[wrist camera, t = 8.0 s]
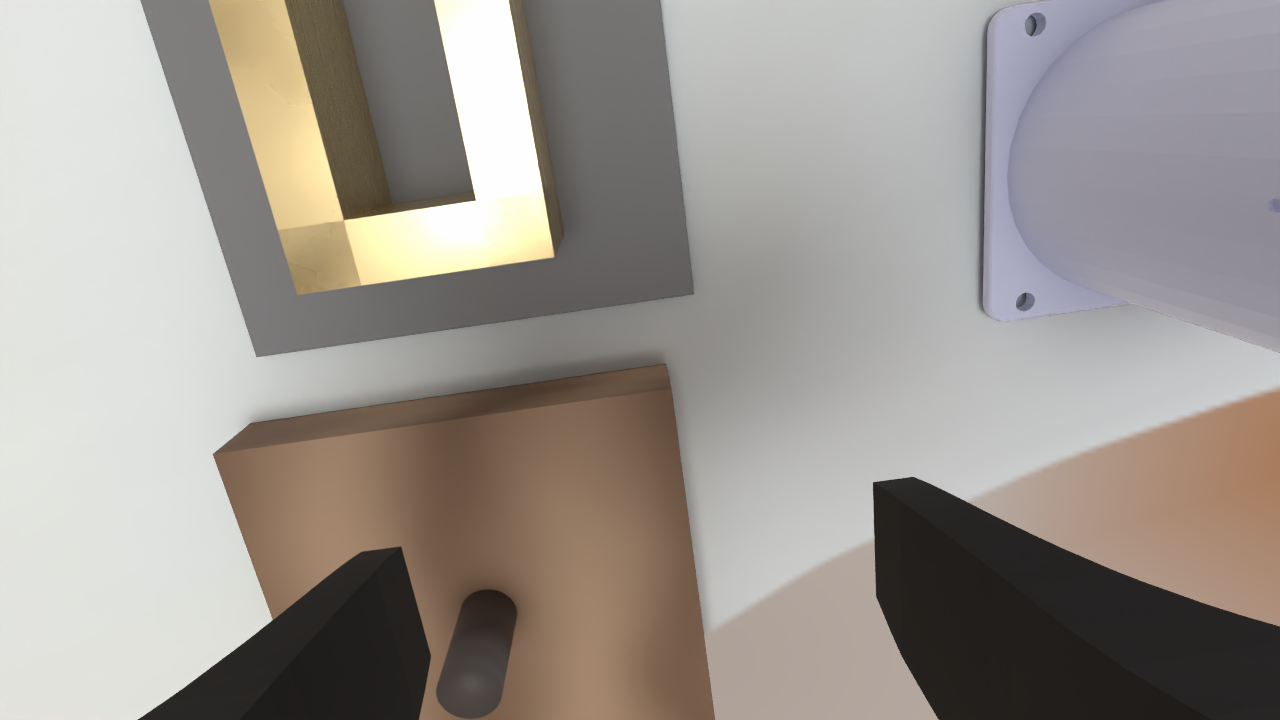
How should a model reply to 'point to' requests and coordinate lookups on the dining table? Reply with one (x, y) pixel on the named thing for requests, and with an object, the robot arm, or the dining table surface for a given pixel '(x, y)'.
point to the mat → (454, 169)
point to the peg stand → (501, 539)
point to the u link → (349, 153)
